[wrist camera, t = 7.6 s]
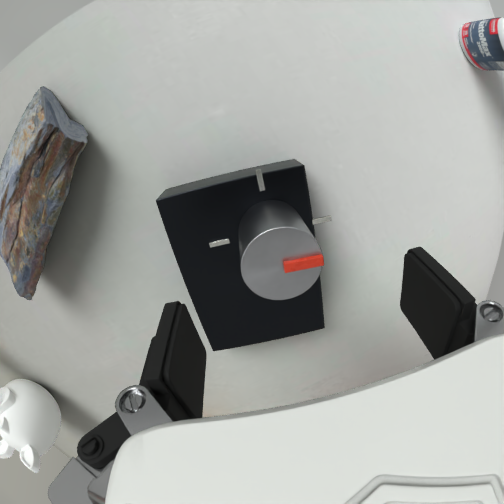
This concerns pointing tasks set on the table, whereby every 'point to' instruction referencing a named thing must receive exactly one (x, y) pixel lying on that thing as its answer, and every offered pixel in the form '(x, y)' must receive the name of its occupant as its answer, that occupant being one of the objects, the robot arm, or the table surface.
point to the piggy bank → (27, 421)
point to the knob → (277, 251)
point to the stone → (36, 186)
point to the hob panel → (237, 253)
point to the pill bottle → (484, 43)
